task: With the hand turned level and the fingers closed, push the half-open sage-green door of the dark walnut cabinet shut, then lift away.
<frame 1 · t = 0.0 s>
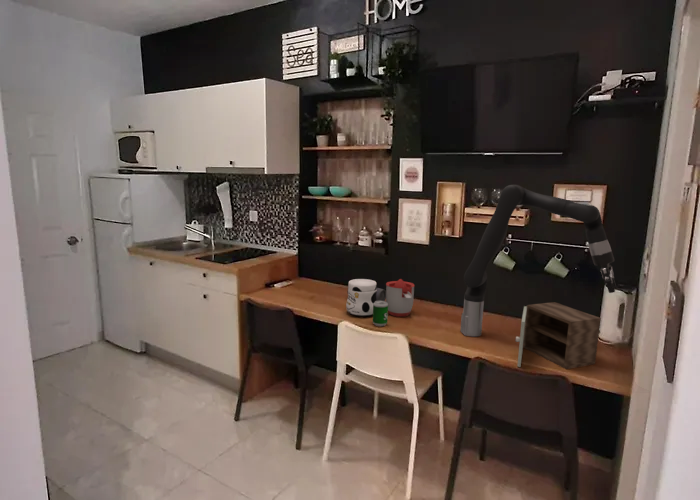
hand: (612, 290, 180), 31 cm above the table, tool tilted 20°, fingers open, 8 cm apart
milk container: (361, 314, 243), on the table
bluetooth speaker: (366, 302, 266), on the table
soda can: (379, 324, 226), on the table
sage door: (520, 334, 188), point 10 cm above the table, hinge at 45.0°
citrus juicer: (399, 314, 244), on the table
walnut cabinet: (557, 355, 192), on the table
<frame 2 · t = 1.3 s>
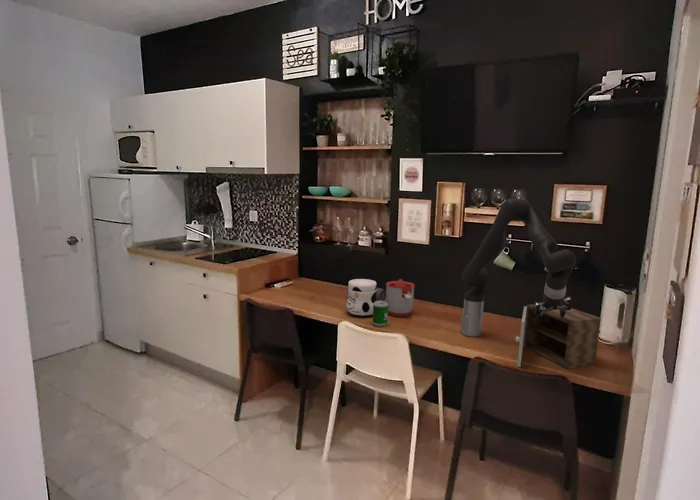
hand: (550, 317, 181), 20 cm above the table, tool tilted 35°, fingers open, 8 cm apart
nothing on the table moved.
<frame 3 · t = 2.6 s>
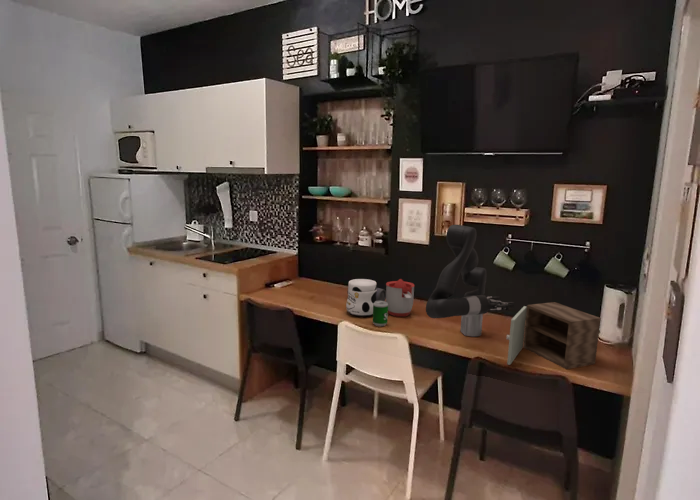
hand: (506, 301, 179), 26 cm above the table, tool horizontal, fingers open, 8 cm apart
sage door: (515, 333, 189), point 10 cm above the table, hinge at 54.6°
everything else where it was.
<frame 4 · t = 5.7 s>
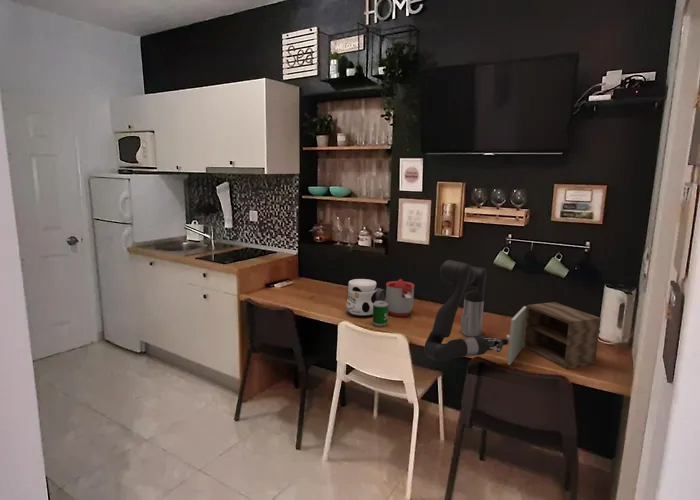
hand: (506, 341, 183), 9 cm above the table, tool horizontal, fingers closed
sage door: (515, 333, 189), point 10 cm above the table, hinge at 54.6°, touching gripper
everything else where it was.
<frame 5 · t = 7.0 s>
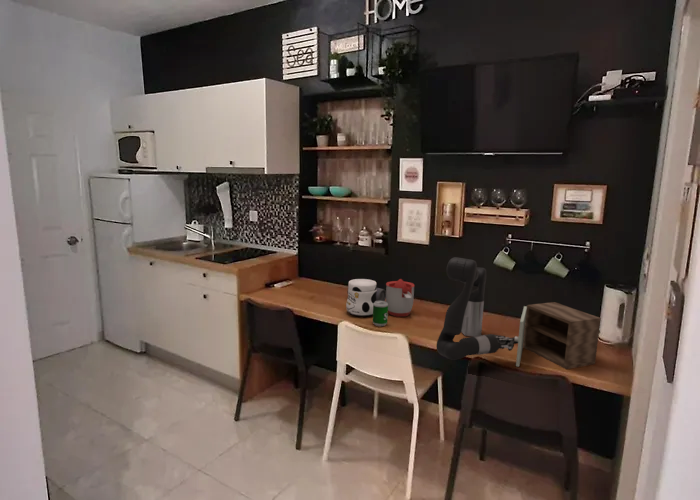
hand: (517, 340, 185), 9 cm above the table, tool horizontal, fingers closed
sage door: (519, 334, 188), point 10 cm above the table, hinge at 46.3°
everything else where it was.
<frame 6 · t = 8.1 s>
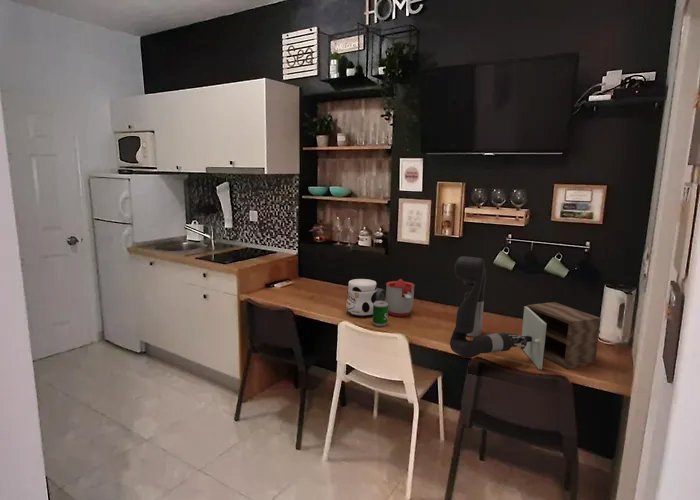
hand: (530, 338, 186), 9 cm above the table, tool horizontal, fingers closed
sage door: (530, 336, 186), point 10 cm above the table, hinge at 25.3°, touching gripper
everything else where it was.
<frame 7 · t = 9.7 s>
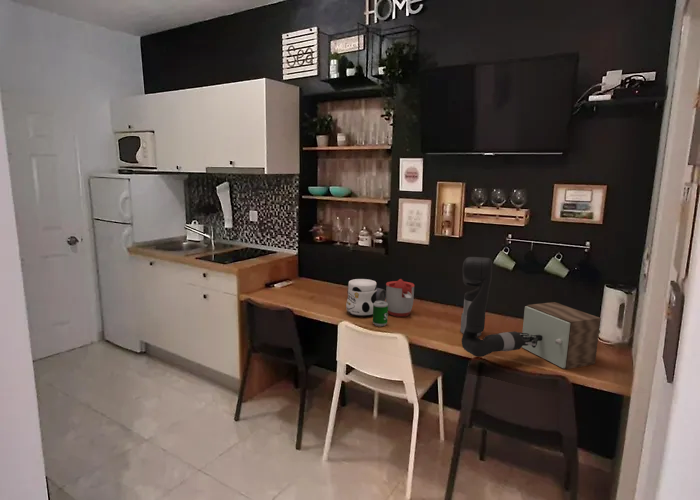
hand: (540, 337, 188), 9 cm above the table, tool horizontal, fingers closed
sage door: (542, 335, 187), point 10 cm above the table, hinge at -0.1°, touching gripper
everything else where it was.
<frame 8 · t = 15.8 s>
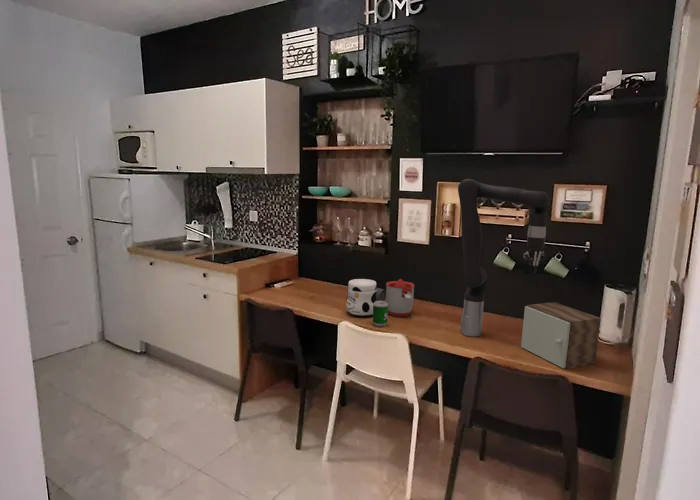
hand: (532, 273, 201), 33 cm above the table, tool pointing down, fingers closed
sage door: (542, 335, 187), point 10 cm above the table, hinge at -0.1°
everything else where it was.
at the end: sage door at +0° (first picture: +45°) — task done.
